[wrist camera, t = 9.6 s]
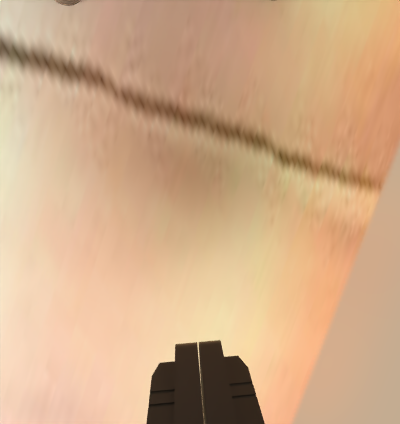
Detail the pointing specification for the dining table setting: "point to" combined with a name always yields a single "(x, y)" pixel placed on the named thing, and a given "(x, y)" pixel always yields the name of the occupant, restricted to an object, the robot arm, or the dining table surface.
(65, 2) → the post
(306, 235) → the dining table surface
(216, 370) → the robot arm
